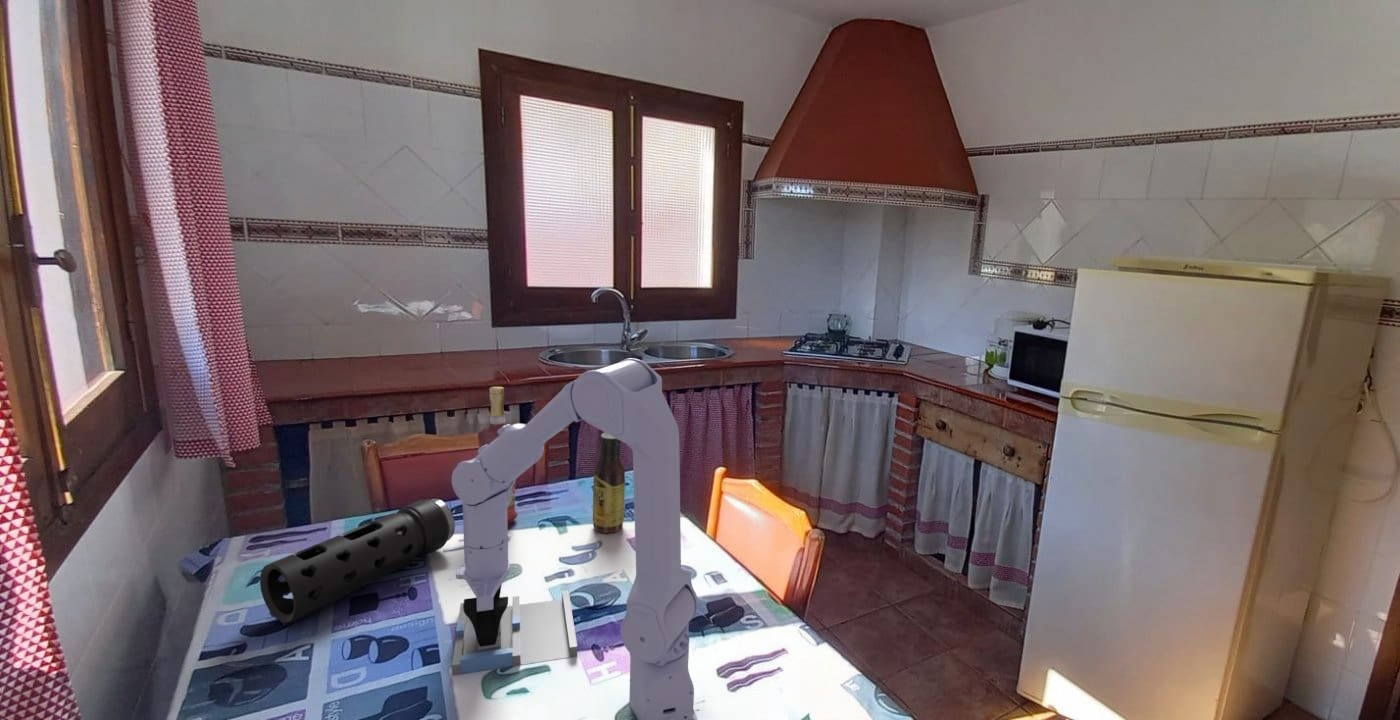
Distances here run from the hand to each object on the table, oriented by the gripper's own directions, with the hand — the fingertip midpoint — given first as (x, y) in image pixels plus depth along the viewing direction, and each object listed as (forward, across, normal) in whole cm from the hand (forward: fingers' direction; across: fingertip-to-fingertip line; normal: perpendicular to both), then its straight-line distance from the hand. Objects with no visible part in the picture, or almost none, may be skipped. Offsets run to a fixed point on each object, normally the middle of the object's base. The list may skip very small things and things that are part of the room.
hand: (488, 627), depth 87 cm
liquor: (+3, -38, +1) cm, 39 cm away
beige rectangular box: (+2, 0, 0) cm, 2 cm away
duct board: (+3, 0, +4) cm, 5 cm away
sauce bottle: (+3, -32, +22) cm, 38 cm away
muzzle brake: (+3, -20, -19) cm, 28 cm away
